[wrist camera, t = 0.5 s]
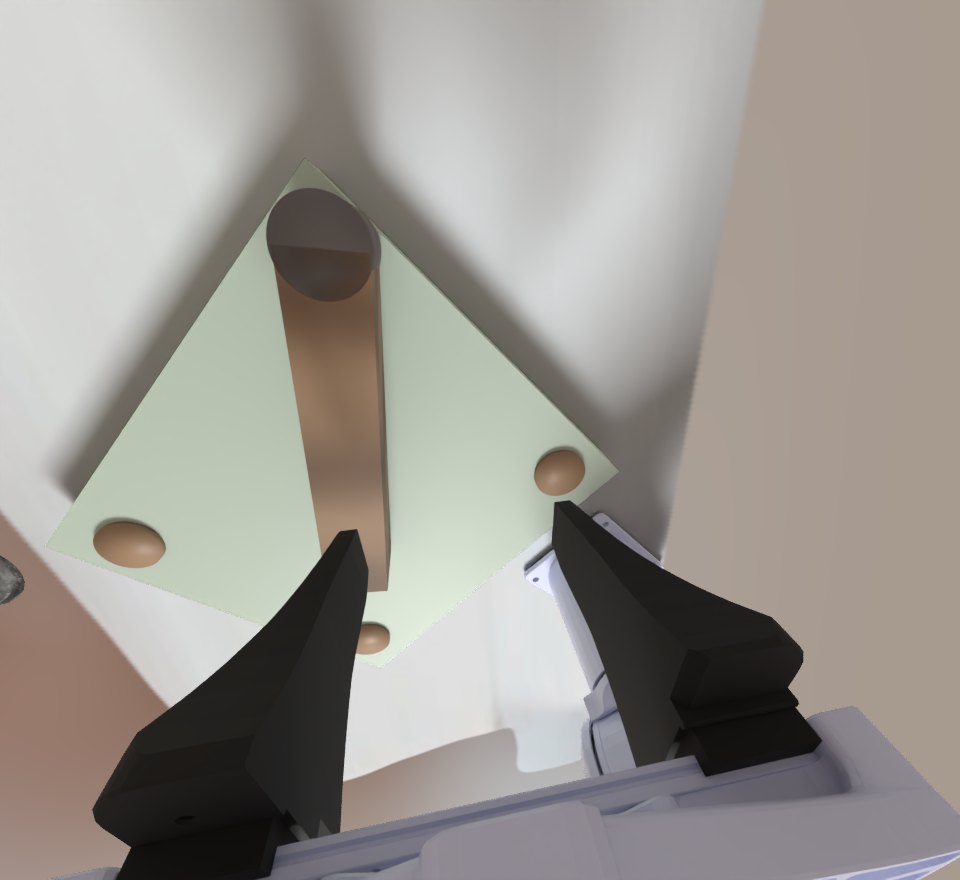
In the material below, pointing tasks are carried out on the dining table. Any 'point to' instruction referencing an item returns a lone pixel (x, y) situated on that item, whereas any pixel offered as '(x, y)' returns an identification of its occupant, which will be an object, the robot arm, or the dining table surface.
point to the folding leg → (336, 363)
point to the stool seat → (283, 471)
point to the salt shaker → (9, 581)
